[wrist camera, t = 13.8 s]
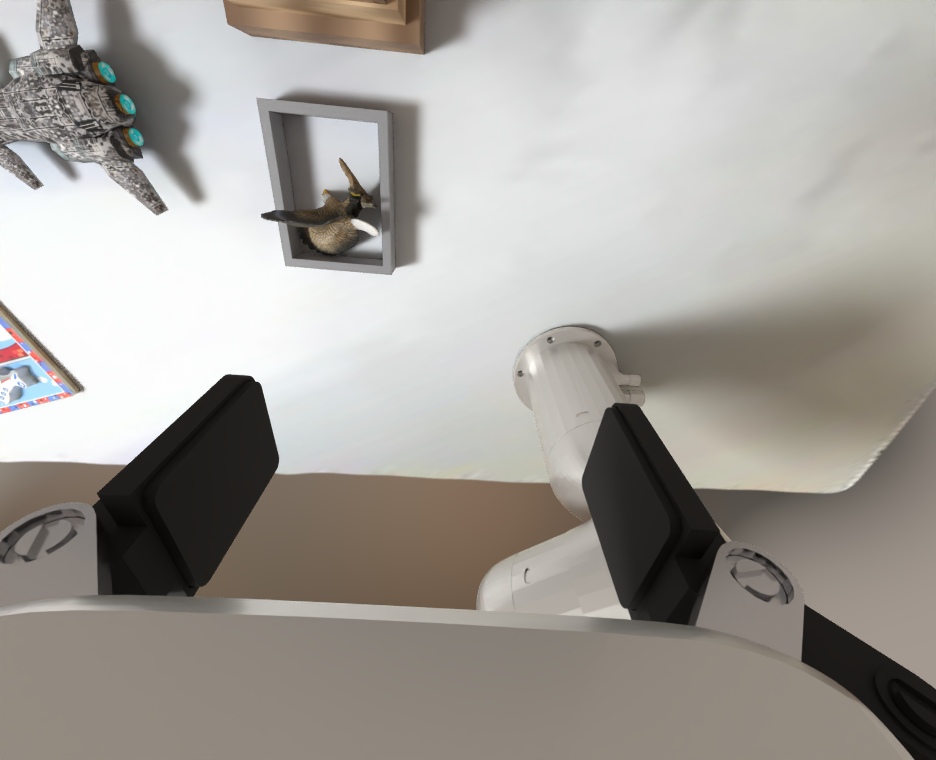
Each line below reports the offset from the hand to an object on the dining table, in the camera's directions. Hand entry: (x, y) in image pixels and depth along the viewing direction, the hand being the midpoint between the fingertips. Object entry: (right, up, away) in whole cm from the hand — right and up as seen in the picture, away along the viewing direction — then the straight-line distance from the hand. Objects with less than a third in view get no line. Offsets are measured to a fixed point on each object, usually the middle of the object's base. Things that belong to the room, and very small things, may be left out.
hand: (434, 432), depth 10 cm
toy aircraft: (-36, +25, +23) cm, 50 cm away
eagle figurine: (-12, +18, +27) cm, 35 cm away
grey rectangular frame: (-12, +20, +26) cm, 35 cm away
